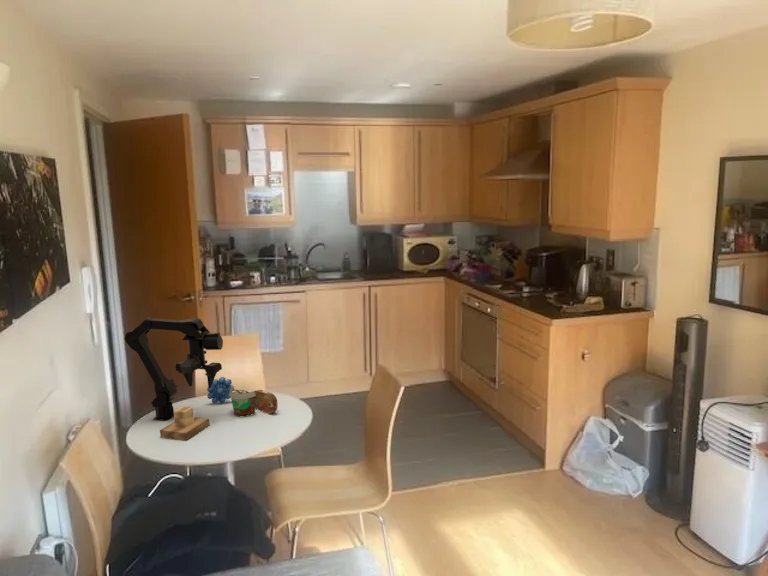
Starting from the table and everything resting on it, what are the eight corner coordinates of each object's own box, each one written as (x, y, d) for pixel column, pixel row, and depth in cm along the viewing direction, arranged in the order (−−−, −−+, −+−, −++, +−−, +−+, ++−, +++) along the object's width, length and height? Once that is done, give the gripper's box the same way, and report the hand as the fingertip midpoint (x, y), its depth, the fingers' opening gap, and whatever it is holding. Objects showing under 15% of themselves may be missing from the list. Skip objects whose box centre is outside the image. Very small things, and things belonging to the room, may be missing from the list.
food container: (224, 415, 239) (222, 392, 237) (234, 409, 244) (232, 387, 242) (247, 419, 233) (245, 395, 231) (257, 413, 238) (255, 390, 236)
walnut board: (160, 437, 219) (159, 430, 219) (184, 422, 232) (183, 415, 232) (187, 440, 215) (186, 433, 215) (209, 425, 228) (209, 418, 228)
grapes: (236, 398, 257) (234, 372, 255) (234, 404, 250) (232, 377, 248) (209, 401, 256) (207, 375, 253) (207, 406, 249) (204, 380, 247)
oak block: (175, 426, 222) (173, 411, 221) (183, 421, 226) (182, 406, 225) (186, 427, 220) (184, 412, 219) (194, 422, 225) (192, 407, 224)
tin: (251, 408, 245) (250, 389, 244) (257, 405, 248) (256, 387, 246) (273, 416, 235) (271, 396, 234) (279, 413, 237) (278, 394, 236)
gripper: (163, 354, 228) (168, 392, 231) (203, 357, 222) (207, 395, 225) (182, 346, 238) (186, 382, 241) (220, 349, 232) (224, 386, 235)
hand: (200, 387), depth 235 cm, fingers open, 9 cm apart
